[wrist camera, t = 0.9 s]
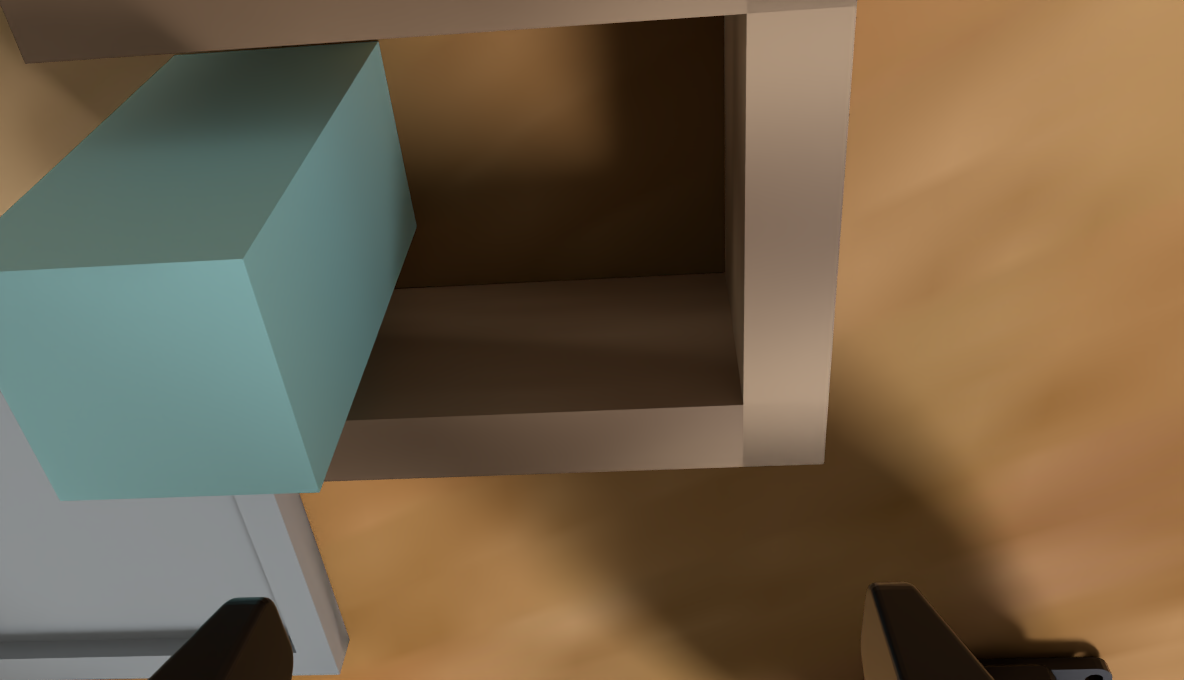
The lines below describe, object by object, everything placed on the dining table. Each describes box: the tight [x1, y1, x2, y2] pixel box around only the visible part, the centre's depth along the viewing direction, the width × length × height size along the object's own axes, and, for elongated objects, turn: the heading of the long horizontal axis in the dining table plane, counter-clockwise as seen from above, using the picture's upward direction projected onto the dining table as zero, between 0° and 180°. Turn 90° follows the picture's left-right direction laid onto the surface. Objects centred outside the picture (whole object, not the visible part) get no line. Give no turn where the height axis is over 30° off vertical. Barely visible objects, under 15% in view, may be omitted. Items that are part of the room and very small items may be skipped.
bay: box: [0, 0, 857, 481], centre depth 18 cm, size 10×12×4 cm
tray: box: [0, 391, 350, 680], centre depth 26 cm, size 11×13×1 cm
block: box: [0, 41, 417, 501], centre depth 17 cm, size 4×4×8 cm
